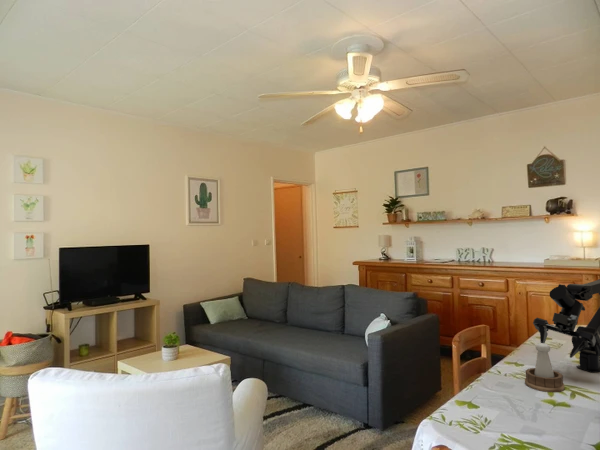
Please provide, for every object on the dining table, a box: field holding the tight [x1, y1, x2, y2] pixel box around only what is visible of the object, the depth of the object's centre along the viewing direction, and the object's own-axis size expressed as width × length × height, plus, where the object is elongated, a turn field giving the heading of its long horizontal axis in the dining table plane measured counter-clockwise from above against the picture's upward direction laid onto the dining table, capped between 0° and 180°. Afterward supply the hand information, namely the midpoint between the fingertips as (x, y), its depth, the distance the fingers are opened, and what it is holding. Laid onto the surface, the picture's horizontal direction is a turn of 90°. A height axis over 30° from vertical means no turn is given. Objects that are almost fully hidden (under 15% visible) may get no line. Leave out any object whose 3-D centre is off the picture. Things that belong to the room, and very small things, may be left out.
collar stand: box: [524, 367, 566, 393], centre depth 136 cm, size 12×12×4 cm
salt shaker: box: [534, 342, 554, 378], centre depth 137 cm, size 6×6×13 cm
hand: (555, 352), depth 141 cm, fingers open, 9 cm apart
